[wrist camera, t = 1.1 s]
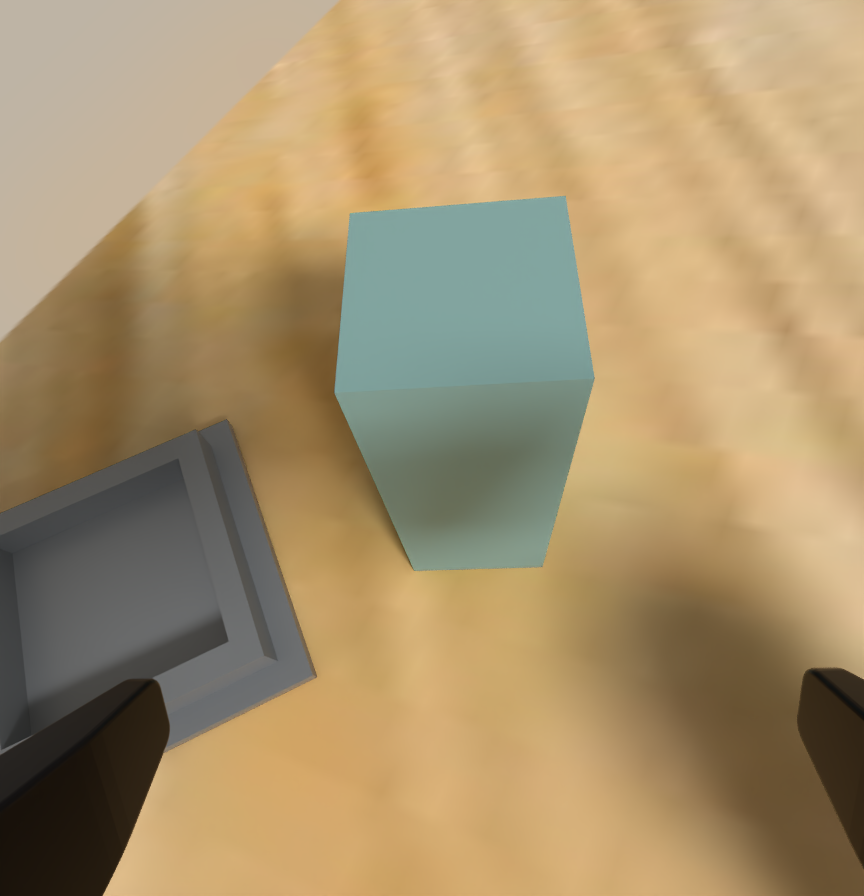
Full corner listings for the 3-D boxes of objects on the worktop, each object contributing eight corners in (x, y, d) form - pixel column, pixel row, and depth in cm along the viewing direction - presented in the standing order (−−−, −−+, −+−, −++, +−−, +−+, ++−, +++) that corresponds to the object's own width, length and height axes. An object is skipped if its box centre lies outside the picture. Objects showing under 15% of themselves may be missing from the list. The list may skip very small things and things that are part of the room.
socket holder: (317, 676, 21) (300, 670, 19) (-6, 836, 20) (-58, 846, 18) (231, 425, 27) (212, 401, 25) (-27, 537, 25) (-68, 520, 23)
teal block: (542, 566, 22) (594, 378, 11) (414, 570, 23) (334, 392, 11) (531, 451, 25) (565, 195, 13) (415, 457, 25) (350, 213, 14)
